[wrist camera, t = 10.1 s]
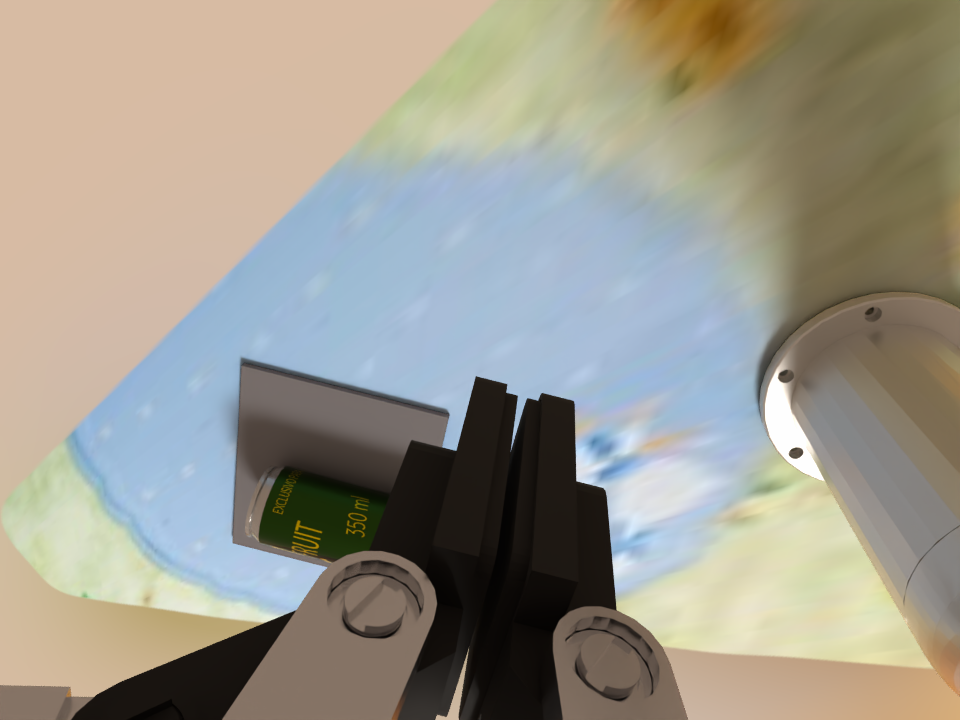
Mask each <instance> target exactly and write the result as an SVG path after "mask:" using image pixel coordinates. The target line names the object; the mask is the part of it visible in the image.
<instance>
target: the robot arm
mask: <svg viewBox="0 0 960 720" xmlns="http://www.w3.org/2000/svg"><path fill="white" fill-rule="evenodd" d="M869 308H870V310H869V311H867V310H868V309H869ZM866 311H867V312H866ZM783 370H785V371H783ZM781 371H783V372H781ZM506 390H507V384H504V383H500V382H496V381H492V380H488V379H484V378H481V377H477V376H476V378H475V382H474V386H473V390H472V393H471V397H470V401H469V405H468V409H467V413H466V417H465V420H464V424H463V428H462V432H461V436H460V440H459V444H458V447H457V451H454V450H450V449H446V448H442V447H438V446H434V445H430V444H426V443H422V442H418V441H414V440H411V442H410V444H409V446H408V449H407V451H406V454H405V457H404V459H403V462H402V465H401V467H400V470H399V473H398V475H397V478H396V481H395V483H394V486H393V488H392V491H391V494H390V496H389V499H388V502H387V504H386V507H385V510H384V512H383V515H382V518H381V520H380V523H379V525H378V528H377V531H376V533H375V536H374V539H373V541H372V544H371V547H370V549H369V551H362V552H358V553H354V554H349V555H346V556H344V557H342V558H341V559H339V560H337V561H335V562H333V563H332V564H331V565H330V566H329V567H328V568H327V569H326V570H325V571H324V572H323V573H322V574H321V575H320V576H319V578H318V579H317V581H316V582H315V584H314V585H313V587H312V588H311V590H310V591H309V593H308V594H307V595H306V597H305V598H304V600H303V601H302V603H301V604H300V606H299V607H298V609H297V610H296V611H293V612H291V613H288V614H286V615H283V616H281V617H278V618H276V619H274V620H271V621H269V622H266V623H264V624H261V625H259V626H256V627H254V628H252V629H249V630H247V631H244V632H242V633H239V634H237V635H235V636H232V637H229V638H227V639H225V640H222V641H220V642H217V643H215V644H212V645H210V646H207V647H205V648H203V649H200V650H198V651H195V652H193V653H190V654H188V655H186V656H183V657H181V658H178V659H176V660H173V661H171V662H168V663H166V664H163V665H161V666H158V667H156V668H154V669H151V670H149V671H146V672H144V673H141V674H139V675H137V676H134V677H132V678H129V679H127V680H124V681H122V682H120V683H118V684H116V685H114V686H112V687H110V688H108V689H107V690H105V691H103V692H101V693H99V694H97V695H96V696H95V697H71V689H70V687H51V686H3V685H0V720H435V719H436V716H437V715H441V716H445V717H447V715H448V712H449V709H450V705H451V703H452V699H453V696H454V693H455V690H456V686H457V684H458V680H459V677H460V674H461V670H462V668H463V664H464V661H465V658H466V655H467V652H468V649H469V652H468V659H467V665H466V671H465V678H464V684H463V691H462V697H461V704H460V710H459V720H688V718H687V715H686V711H685V708H684V705H683V702H682V699H681V696H680V692H679V689H678V686H677V683H676V680H675V677H674V674H673V671H672V667H671V664H670V662H669V660H668V658H667V656H666V654H665V652H664V649H663V647H662V646H661V645H660V644H659V642H658V641H657V640H656V639H655V637H654V636H653V635H652V634H651V632H649V631H648V630H647V629H646V628H645V627H643V626H642V625H641V624H640V623H638V622H637V621H636V620H635V619H633V618H631V617H629V616H627V615H625V614H623V613H621V612H619V611H617V610H616V598H615V587H614V575H613V564H612V553H611V541H610V530H609V518H608V507H607V496H606V491H605V490H604V489H603V488H601V487H597V486H593V485H589V484H585V483H581V482H577V481H576V447H575V404H574V401H572V400H568V399H564V398H560V397H556V396H552V395H548V394H544V393H542V394H541V395H540V398H539V400H538V401H537V400H533V399H529V398H527V400H526V403H525V406H524V409H523V413H522V416H521V419H520V423H519V426H518V429H517V433H516V436H515V440H514V443H513V446H512V450H511V444H512V436H513V429H514V421H515V414H516V406H517V398H518V396H517V395H513V394H509V393H506ZM759 406H760V413H761V419H762V423H763V425H764V428H765V430H766V432H767V435H768V437H769V439H770V440H771V442H772V444H773V446H774V447H775V449H776V451H777V452H778V453H779V454H780V455H781V456H782V457H783V459H784V460H785V461H786V462H788V463H789V464H790V465H792V466H793V467H795V468H796V469H798V470H799V471H800V472H802V473H804V474H807V475H809V476H811V477H813V478H816V479H818V480H821V481H825V483H826V484H827V486H828V488H829V490H830V491H831V493H832V495H833V497H834V498H835V500H836V502H837V504H838V505H839V507H840V509H841V511H842V512H843V514H844V516H845V517H846V519H847V521H848V523H849V524H850V526H851V528H852V530H853V531H854V533H855V535H856V537H857V538H858V540H859V542H860V544H861V545H862V547H863V549H864V551H865V552H866V554H867V556H868V558H869V559H870V561H871V563H872V565H873V566H874V568H875V570H876V572H877V573H878V575H879V577H880V579H881V580H882V582H883V584H884V585H885V587H886V589H887V591H888V592H889V594H890V596H891V598H892V599H893V601H894V603H895V605H896V606H897V608H898V610H899V612H900V613H901V615H902V617H903V619H904V620H905V622H906V624H907V626H908V627H909V629H910V631H911V633H912V634H913V636H914V638H915V639H916V641H917V643H918V645H919V646H920V648H921V650H922V651H923V653H924V655H925V656H926V658H927V659H928V661H929V662H930V664H931V665H932V667H933V668H934V669H935V671H936V672H937V674H938V675H939V676H940V677H941V678H942V679H943V680H944V682H945V683H946V684H947V685H948V686H949V687H950V688H951V689H952V690H953V691H954V692H955V693H956V694H958V695H959V696H960V308H958V307H956V306H954V305H952V304H950V303H948V302H946V301H944V300H942V299H940V298H936V297H932V296H928V295H924V294H920V293H910V292H886V293H876V294H869V295H865V296H862V297H858V298H854V299H850V300H847V301H845V302H842V303H840V304H838V305H835V306H833V307H831V308H828V309H826V310H824V311H823V312H821V313H820V314H818V315H816V316H815V317H813V318H812V319H810V320H808V321H807V322H805V323H804V324H803V325H802V326H801V327H800V328H799V329H797V330H796V331H795V332H794V333H793V334H792V335H791V336H789V338H788V339H787V340H786V341H785V342H784V344H783V345H782V346H781V347H780V348H779V350H778V351H777V352H776V353H775V355H774V357H773V359H772V361H771V363H770V364H769V366H768V368H767V370H766V373H765V376H764V379H763V382H762V385H761V391H760V402H759ZM510 452H511V453H510Z"/></svg>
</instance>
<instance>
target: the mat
mask: <svg viewBox="0 0 960 720" xmlns="http://www.w3.org/2000/svg"><path fill="white" fill-rule="evenodd" d="M448 419H449V414H445V413H441V412H437V411H433V410H429V409H425V408H421V407H417V406H413V405H409V404H405V403H401V402H397V401H393V400H389V399H385V398H381V397H377V396H373V395H369V394H365V393H361V392H357V391H353V390H349V389H346V388H342V387H338V386H334V385H330V384H326V383H322V382H318V381H314V380H310V379H306V378H302V377H298V376H294V375H290V374H286V373H282V372H278V371H274V370H270V369H266V368H262V367H258V366H254V365H250V364H246V363H244V364H243V365H242V369H241V389H240V408H239V428H238V448H237V468H236V488H235V507H234V527H233V543H234V544H238V545H242V546H246V547H250V548H254V549H258V550H262V551H266V552H270V553H274V554H278V555H281V556H285V557H289V558H293V559H297V560H301V561H305V562H309V563H313V564H317V565H321V566H325V567H329V566H330V565H331V564H332V563H329V562H325V561H321V560H318V559H314V558H310V557H307V556H303V555H299V554H296V553H292V552H288V551H285V550H281V549H277V548H274V547H270V546H266V545H262V544H261V543H260V542H258V541H257V540H256V539H255V538H254V537H253V538H251V537H248V536H247V535H246V533H245V523H246V517H247V512H248V508H249V505H250V502H251V499H252V496H253V494H254V491H255V489H256V486H257V484H258V482H259V480H260V478H261V477H262V475H263V474H264V472H265V471H266V469H267V468H268V467H270V466H277V467H278V468H280V467H285V466H290V467H294V468H297V469H301V470H305V471H308V472H312V473H316V474H319V475H323V476H327V477H330V478H334V479H338V480H341V481H345V482H349V483H352V484H356V485H360V486H363V487H367V488H371V489H374V490H378V491H382V492H385V493H389V494H391V491H392V488H393V486H394V483H395V481H396V478H397V475H398V473H399V470H400V467H401V465H402V462H403V459H404V457H405V454H406V451H407V449H408V446H409V444H410V442H411V440H414V441H418V442H422V443H426V444H430V445H434V446H438V447H442V444H443V440H444V436H445V432H446V427H447V423H448Z"/></svg>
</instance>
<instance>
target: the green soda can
mask: <svg viewBox="0 0 960 720" xmlns="http://www.w3.org/2000/svg"><path fill="white" fill-rule="evenodd" d="M389 496H390V494H389V493H385V492H382V491H378V490H374V489H371V488H367V487H363V486H360V485H356V484H352V483H349V482H345V481H341V480H338V479H334V478H330V477H327V476H323V475H319V474H316V473H312V472H308V471H305V470H301V469H297V468H294V467H290V466H285V467H280V468H278V467H277V466H270V467H268V468H267V469H266V471H265V472H264V474H263V475H262V477H261V478H260V480H259V482H258V484H257V486H256V489H255V491H254V494H253V496H252V499H251V502H250V505H249V508H248V512H247V517H246V523H245V533H246V535H247V536H248V537H251V538H253V537H254V538H255V539H256V540H257V541H258V542H260V543H261V544H262V545H266V546H270V547H274V548H277V549H281V550H285V551H288V552H292V553H296V554H299V555H303V556H307V557H310V558H314V559H318V560H321V561H325V562H329V563H333V562H335V561H337V560H339V559H341V558H342V557H344V556H346V555H349V554H354V553H358V552H362V551H369V549H370V547H371V544H372V541H373V539H374V536H375V533H376V531H377V528H378V525H379V523H380V520H381V518H382V515H383V512H384V510H385V507H386V504H387V502H388V499H389Z"/></svg>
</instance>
